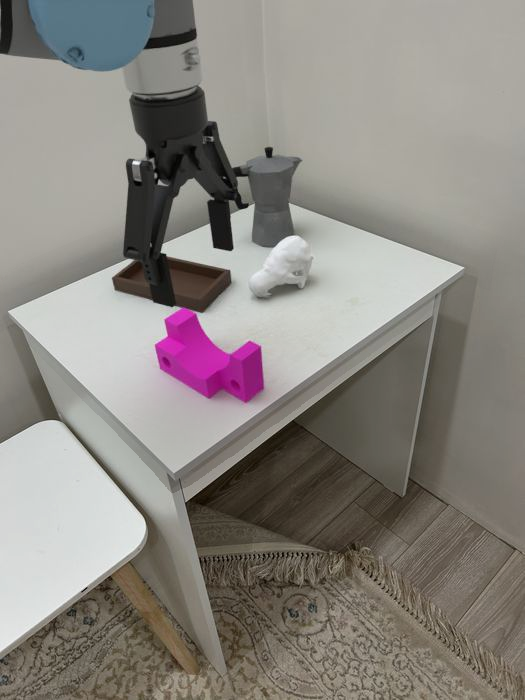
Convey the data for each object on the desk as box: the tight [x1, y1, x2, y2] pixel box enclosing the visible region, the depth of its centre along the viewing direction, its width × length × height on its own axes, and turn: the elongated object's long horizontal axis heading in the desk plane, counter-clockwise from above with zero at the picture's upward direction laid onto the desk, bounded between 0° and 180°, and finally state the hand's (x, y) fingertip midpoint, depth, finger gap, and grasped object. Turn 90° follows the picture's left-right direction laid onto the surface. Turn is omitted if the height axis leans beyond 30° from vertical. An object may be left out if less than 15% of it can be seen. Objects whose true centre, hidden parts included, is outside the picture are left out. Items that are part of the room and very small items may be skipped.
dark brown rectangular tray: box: [111, 255, 232, 313], centre depth 97 cm, size 19×10×3 cm, turn 63°
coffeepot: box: [232, 146, 303, 248], centre depth 104 cm, size 15×9×18 cm, turn 113°
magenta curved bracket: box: [154, 307, 265, 404], centre depth 76 cm, size 15×6×8 cm, turn 49°
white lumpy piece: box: [248, 235, 314, 298], centre depth 93 cm, size 6×8×12 cm
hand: (196, 274), depth 67 cm, fingers open, 13 cm apart
